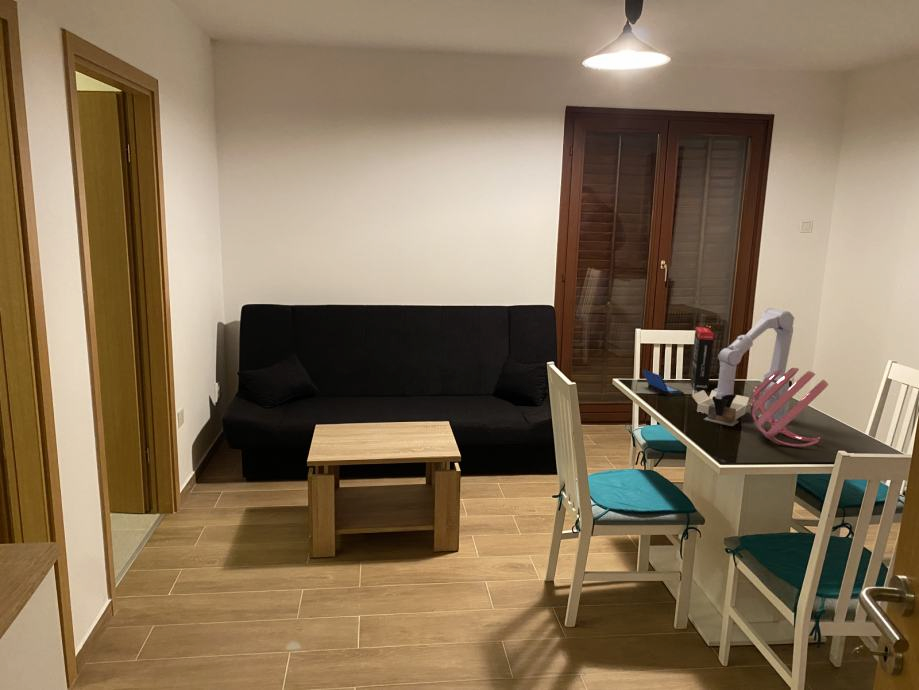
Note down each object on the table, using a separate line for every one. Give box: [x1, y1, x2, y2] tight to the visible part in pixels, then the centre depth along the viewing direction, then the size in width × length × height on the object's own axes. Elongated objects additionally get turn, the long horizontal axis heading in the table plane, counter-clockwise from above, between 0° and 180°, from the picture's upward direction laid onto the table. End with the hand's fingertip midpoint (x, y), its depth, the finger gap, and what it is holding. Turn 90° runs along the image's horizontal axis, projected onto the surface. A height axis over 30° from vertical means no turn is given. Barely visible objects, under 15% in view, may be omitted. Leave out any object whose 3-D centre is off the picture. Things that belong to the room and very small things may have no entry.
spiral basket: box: [749, 367, 829, 448], centre depth 242 cm, size 28×28×27 cm
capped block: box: [707, 404, 736, 423], centre depth 266 cm, size 9×4×5 cm, turn 51°
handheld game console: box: [642, 369, 685, 397], centre depth 308 cm, size 16×13×9 cm
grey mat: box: [703, 416, 740, 427], centre depth 266 cm, size 11×8×1 cm
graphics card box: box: [689, 326, 715, 392], centre depth 319 cm, size 17×7×27 cm, turn 168°
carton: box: [691, 389, 756, 421], centre depth 279 cm, size 21×16×6 cm
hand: (722, 413), depth 266 cm, fingers open, 7 cm apart
